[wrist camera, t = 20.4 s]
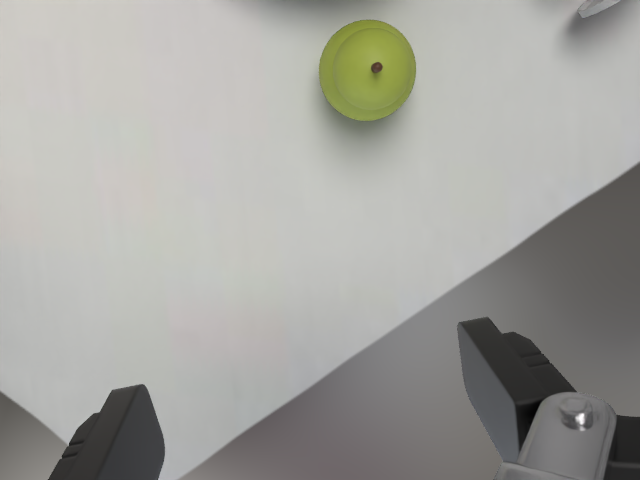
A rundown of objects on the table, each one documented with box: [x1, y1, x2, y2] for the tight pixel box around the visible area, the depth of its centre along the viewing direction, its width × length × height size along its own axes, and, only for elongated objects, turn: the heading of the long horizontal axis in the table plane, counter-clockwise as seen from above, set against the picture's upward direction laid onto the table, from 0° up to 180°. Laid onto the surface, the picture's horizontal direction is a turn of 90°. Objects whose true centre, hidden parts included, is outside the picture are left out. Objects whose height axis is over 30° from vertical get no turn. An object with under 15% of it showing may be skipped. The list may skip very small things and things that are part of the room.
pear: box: [319, 20, 416, 121], centre depth 32 cm, size 6×6×10 cm
